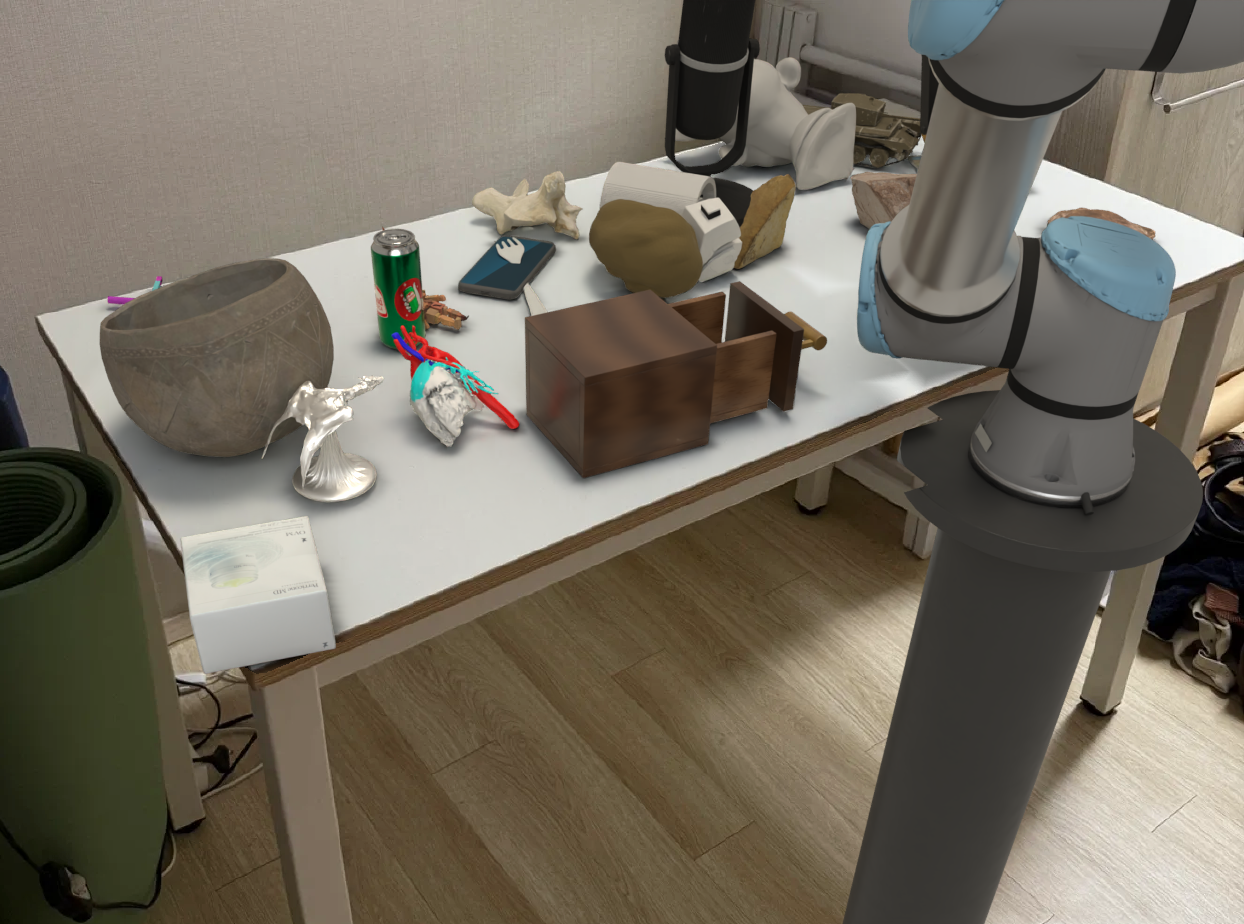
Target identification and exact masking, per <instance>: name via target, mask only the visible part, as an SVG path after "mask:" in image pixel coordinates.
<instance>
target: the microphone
mask: <svg viewBox="0 0 1244 924" xmlns="http://www.w3.org/2000/svg"><path fill="white" fill-rule="evenodd" d="M755 5H756V0H682V8H681V13H680V14H681V15H680V23H679V32H678V33H679V34H678V39H677V41H676V43H671V45H667V46H666V47H665V48H664V61H665V63H666V65H668V78H667V95H666V96H667V99H666V116H665V133H664V152H665V156H666V157H667V158H668V159H669V160H670V162H671V163H672V164H673V165H674V166H675V167H676V169H678V170H679V171H680V172H685V173H691V174H697V175H703V176H709V177H712V176H713V175H718V174H723V173H725V172H727V171H728V170H729V169H731V168H732V167H734V166H733V165H734V164H735V163H736V162H737V161H738V160H739V159H740V157H741V156H742V155H743V153H744V149H745V146H746V138H747V127H748V117H749V107H750V96H751V86H752V75H753V65H754V59H757V58H758V57H759V56H760V50H761V46H760V42H759V40H758V39H757V38H751V37H750V36H751V32H752V25H753V18H754V12H755ZM738 103H739V105H738ZM737 110H738V116H737ZM736 116H737V127H736V138H735V142H734V146H733V148H732V149H731V150H730V151H729V152H728V153H727V154H726V155H725V156H724V157H723V158H722V159H721V158H720V160H718V161H716V162H714V163H709V164H702V165H700V164H699V165H684V164H683V163H680V161H678V160H677V159H676V158H677V157H676V153H675V151H676V141H675V135H676V129H677V130H678V131H679V132H680V133H681V134H683V135H685V136H687V137H690V138H693V139H697V140H698V141H713V140H718V139H719V138H720V137H722V136H724V135H725V134H726V133H727V132H728V131H729V130H730V129H731V128H732V127H733V125H734V123H735V120H736ZM712 178H713V179H714V181H715V185H716V198H720V200H721V201H722V202H723V203H724V205H725V206H726V207H727V208H728V210H729V211H730V212H731V214H732V215H733V217H734V218H735V220H736V221H737V223H738V225H739V227H741V226H742V224H743V222H744V218H745V216H746V213H747V210H748V208H749V206H750V201H751V194H752V192H753V191H754V190H753V189H752V188H750V187H748V186H747V185H744V184H743V183H739V182H736V181H733V180H730V179H726V178H719V177H715V176H714V177H712ZM700 198H703V195H702V194H701V195H700Z"/></svg>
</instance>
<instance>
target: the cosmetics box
mask: <svg viewBox="0 0 1244 924" xmlns="http://www.w3.org/2000/svg"><path fill="white" fill-rule="evenodd" d="M179 540H180V547H181V556H182V565H183V571H184V581H185V588H186V589H185V590H186V596H187V597H186V598H187V604H188V605H187V606H188V613H189V615H188V616H189V621H190V625H191V631H192V634H193V637H194V638H193V639H194V641H195V646H196V650H197V653H198V657H199V661H200V665H201V668H202V672H203V674H205V675H208V674H212V673H217V672H223V671H227V670H232V669H233V670H234V669H238V668H244V667H247V666H254V665H258V664H263V663H269V662H273V661H274V662H275V661H279V660H283V659H289V658H294V657H299V656H304V655H310V654H313V653H314V654H315V653H320V652H325V651H330V650H335V649H336V647H337V644H336V643H337V642H336V637H335V630H334V625H333V617H332V611H331V605H330V604H331V603H330V599H329V594H328V590H327V585H326V581H325V578H324V573H323V569H322V566H321V561H320V558H319V554H318V549H317V545H316V542H315V537H314V534H313V530H312V526H311V522H310V518H309V516H308V515H304V516H298V517H292V518H287V519H279V520H275V521H269V522H262V523H258V524H256V523H255V524H251V525H245V526H240V527H234V528H228V529H222V530H221V529H220V530H216V531H211V532H203V533H199V534H192V535H187V536H182V537H180V539H179Z"/></svg>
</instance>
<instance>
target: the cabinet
mask: <svg viewBox="0 0 1244 924" xmlns="http://www.w3.org/2000/svg"><path fill="white" fill-rule="evenodd" d="M668 304H669V303H667V302H666V301H665V300H664V299H663V298H661V297H659V296H657V295H656V294H655V293H654V292H653V291H651V290H646V291H642V292H637V293H633V292H631V293H629V294H625V295H620V296H615V297H611V298H606V299H601V300H597V301H592V302H587V303H583V304H579V305H574V306H570V307H565V308H560V309H557V310H556V309H555V310H552V311H547V313H542V314H538V315H533V316H532V315H528V316H525V317H524V353H525V354H524V357H525V359H524V360H525V362H524V363H525V407H526V409H525V411H526V412H525V414H526V416H527V417H528V418H529V419H530V421H532V423H533V424H534V425H535V426H536V427H537V429H539V431H540V432H541V433H542V434H543V435H544V436H545V437H546V438H547V440H548V441H549V442H550V443H551V444H552V445H553V446H554V448H555V449H556V450H557V451H558V452H559V453H560V454H561V455H562V457H564V459H565V460H566V461H567V463H569V464H570V465H571V467H572V468H573V469H574V470H575V471H576V472H577V473H578V474H579V476H580V477H581V478H582V479H586V478H589V477H593V476H597V475H600V474H601V475H602V474H604V473H609V472H612V471H615V470H619V469H622V468H626V467H629V466H630V467H631V466H633V465H637V464H641V463H645V462H648V461H651V460H655V459H659V458H663V457H667V456H671V455H673V454H677V453H680V452H681V453H682V452H685V451H688V450H691V449H692V450H693V449H696V448H699V447H703V446H706V445H709V440H710V431H711V423H710V420H711V409H712V398H713V387H714V376H715V365H716V353H717V345H716V344H715V343H714V342H713V341H711V340H710V339H709V338H708V337H707V336H705V335H704V334H703V333H702V332H701V331H699V330H698V329H697V328H696V327H695V326H693V325H692V324H691V323H690V322H689V321H687V320H686V319H685V318H684V317H683V316H681V315H680V314H679V313H678V312H677V311H675V310H674V309H673V308H672V307H671V306H669V305H668Z"/></svg>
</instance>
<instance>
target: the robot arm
mask: <svg viewBox="0 0 1244 924" xmlns="http://www.w3.org/2000/svg"><path fill="white" fill-rule="evenodd" d="M908 12H909V13H908V24H907V40H908V43H909V47H910V48H911V49H912V50H914V51H915V53H917V54H919V55H920V56H921V69H920V71H921V73H920V74H921V75H920V78H921V79H920V110H919V111H920V115H919V118H920V132H921V134H922V135H926V139H925V143H924V142H923V147H922V152H921V154H920V155H921V159H920V163H919V168H918V169H917V171H916V174H917V176H916V180H915V184H914V188H913V192H912V196H911V200H910V204H909V205H908V206H907V207H905V208H904V209H902V210H901V211H900V212H899V213H898V214H897V215H896V216H895V218H894V219H893V220H892V221H891V222H890V221H889V222H886V223H878V224H874V225H873V226H872V227H871V228H870V229H868V231H867V233H866V235H865V239H864V245H863V250H862V256H861V261H860V262H861V263H860V272H859V279H858V290H857V291H858V292H857V295H858V296H857V298H858V299H857V309H856V331H857V332H856V333H857V339H858V342H859V344H860V346H861V347H862V348H863V349H864V350H865V351H867V352H869V353H872V354H879V355H885V356H889V357H890V358H892V359H899V360H900V359H911V360H912V359H913V360H920V361H921V360H922V361H931V362H942V363H950V364H962V365H970V366H971V365H973V366H981V367H990V368H997V369H1004V370H1005V369H1006V370H1008V372H1007V376H1006V379H1005V382H1004V384H1003V385H1002V386H1001V389H999V390H1000V391H999V393H998V394H997V396H996V397H995V399H994V400H993V402H992V403H991V404H990V406H989V407H988V409H987V410H986V412H985V414H984V415H983V417H982V418H981V419H980V421H979V422H978V424H977V426H976V428H975V430H974V432H973V434H972V438H971V442H970V446H969V451H968V455H969V460H970V463H971V465H972V467H973V468H974V470H975V471H976V472H977V473H978V474H979V475H980V476H981V477H982V478H983V479H984V480H985V481H986V482H988V483H989V484H990V485H992V486H993V487H995V488H997V489H998V490H1000V491H1002V492H1004V493H1006V494H1008V495H1010V496H1013V497H1015V498H1018V499H1021V500H1023V501H1027V502H1030V503H1034V504H1038V505H1043V506H1048V507H1056V508H1083V510H1084V513H1085V515H1086V516H1088V515H1092V514H1094V511H1093V507H1094V506H1099V505H1103V504H1106V503H1108V502H1111V501H1113V500H1115V499H1117V498H1118V497H1120V496H1121V495H1122V494H1123V493H1124V492H1125V491H1126V489H1127V488H1128V486H1129V483H1130V480H1131V477H1132V475H1133V471H1134V465H1135V451H1134V448H1133V418H1134V409H1135V404H1136V402H1137V398H1138V395H1139V393H1140V390H1141V388H1142V384H1143V381H1144V378H1145V376H1146V374H1147V373H1146V372H1147V370H1148V367H1149V365H1150V360H1151V358H1152V354H1153V352H1154V349H1155V347H1156V343H1157V340H1158V338H1159V334H1160V331H1161V329H1162V326H1163V322H1164V320H1165V319H1167V317H1168V315H1169V313H1170V303H1171V300H1172V299H1171V298H1172V294H1173V291H1174V286H1175V282H1176V277H1177V270H1176V266H1175V262H1174V260H1173V258H1172V257H1171V255H1170V254H1169V252H1168V251H1167V250H1166V249H1165V248H1164V247H1163V246H1162V245H1161V244H1159V243H1158V242H1156V241H1155V240H1154V239H1153V240H1152V239H1151V238H1149V237H1147V236H1146V235H1144V234H1142V233H1140V232H1138V231H1136V230H1134V229H1131V228H1129V227H1126V226H1124V225H1121V224H1118V223H1114V222H1111V221H1107V220H1103V219H1098V218H1092V217H1085V216H1070V217H1069V218H1063V217H1062V218H1058V219H1056V220H1054V221H1052V222H1050V223H1049V225H1048V226H1047V225H1046V227H1045V228H1044V229H1043V231H1042V232H1041V235H1040V237H1031V236H1021V235H1017V232H1016V230H1015V229H1016V228H1017V224H1018V222H1019V219H1020V217H1021V215H1022V212H1023V209H1024V207H1025V205H1026V202H1027V200H1028V197H1029V195H1030V192H1031V190H1032V187H1033V186H1034V183H1035V180H1036V177H1037V175H1038V173H1039V170H1040V167H1041V165H1042V163H1043V160H1044V158H1045V155H1046V153H1047V150H1048V148H1049V145H1050V143H1051V140H1052V138H1053V135H1054V133H1055V131H1056V128H1057V126H1058V123H1059V121H1060V118H1061V116H1062V114H1063V111H1065V110H1068V109H1069V108H1071V107H1073V106H1074V105H1076V104H1077V103H1079V102H1080V101H1081V100H1083V99H1084V98H1085V97H1086V96H1087V95H1088V94H1089V93H1090V92H1091V91H1093V89H1094V88H1095V87H1096V86H1097V84H1098V83H1099V81H1100V80H1101V79H1102V77H1103V75H1104V73H1105V71H1106V70H1119V71H1133V72H1135V71H1138V72H1150V73H1151V72H1152V73H1163V74H1164V73H1167V74H1179V75H1180V74H1191V73H1192V74H1193V73H1203V72H1209V71H1214V70H1218V69H1223V68H1229V67H1232V66H1235V65H1239V64H1242V63H1244V0H910V6H909V11H908Z"/></svg>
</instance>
